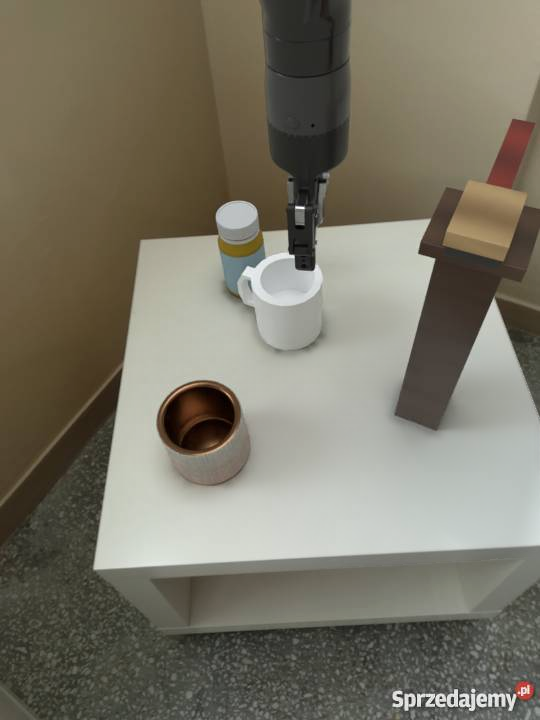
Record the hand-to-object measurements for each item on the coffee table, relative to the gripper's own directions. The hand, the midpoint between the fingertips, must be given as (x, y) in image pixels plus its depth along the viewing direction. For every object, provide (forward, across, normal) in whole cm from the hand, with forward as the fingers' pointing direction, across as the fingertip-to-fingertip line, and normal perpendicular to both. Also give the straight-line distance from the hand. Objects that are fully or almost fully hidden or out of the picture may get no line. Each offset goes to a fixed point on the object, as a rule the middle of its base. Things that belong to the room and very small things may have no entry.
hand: (310, 241), depth 61 cm
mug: (+24, +6, +5) cm, 25 cm away
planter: (+24, -17, +12) cm, 31 cm away
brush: (-10, -2, -18) cm, 20 cm away
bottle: (+24, +13, +13) cm, 30 cm away
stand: (+24, -6, -16) cm, 29 cm away
